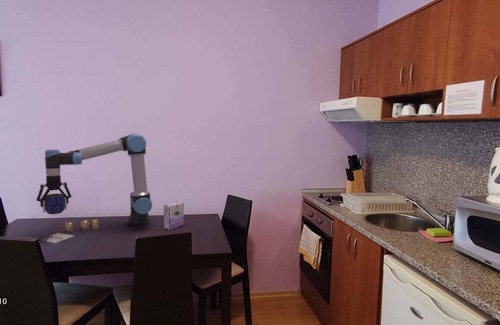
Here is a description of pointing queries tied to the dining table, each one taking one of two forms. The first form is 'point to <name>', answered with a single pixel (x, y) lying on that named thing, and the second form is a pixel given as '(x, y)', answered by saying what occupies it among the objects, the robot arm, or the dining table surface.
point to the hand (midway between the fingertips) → (55, 210)
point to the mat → (59, 237)
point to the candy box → (173, 215)
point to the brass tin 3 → (95, 224)
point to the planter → (54, 203)
